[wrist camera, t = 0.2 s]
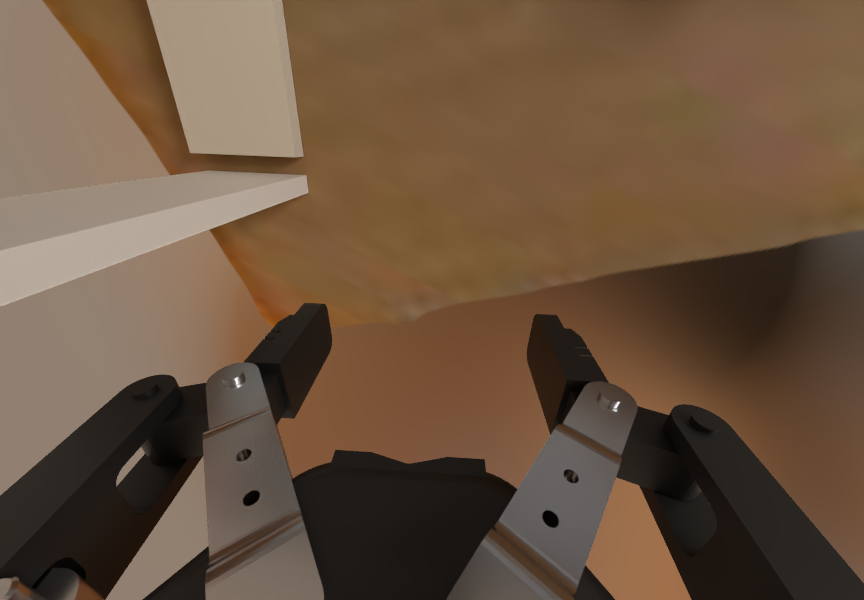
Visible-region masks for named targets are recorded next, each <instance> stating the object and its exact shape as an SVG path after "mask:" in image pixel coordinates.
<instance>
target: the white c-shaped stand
mask: <svg viewBox="0 0 864 600" xmlns="http://www.w3.org/2000/svg"><path fill="white" fill-rule="evenodd" d="M147 3H148V7H149V10H150V14H151V17H152V21H153V24H154V28H155V31H156V35H157V38H158V42H159V45H160V49H161V52H162V56H163V59H164V63H165V66H166V70H167V73H168V77H169V80H170V84H171V87H172V91H173V94H174V98H175V102H176V105H177V109H178V112H179V116H180V119H181V123H182V126H183V130H184V133H185V137H186V140H187V144H188V147H189V151H190V153H204V154H227V155H250V156H273V157H303V149H302V142H301V135H300V127H299V120H298V113H297V106H296V98H295V91H294V84H293V76H292V69H291V62H290V55H289V47H288V40H287V33H286V26H285V18H284V11H283V4H282V0H147ZM307 193H308V185H307V178H306V175H293V174H271V173H249V172H228V171H201V172H194V173H186V174H178V175H171V176H164V177H156V178H148V179H141V180H133V181H126V182H118V183H111V184H103V185H95V186H88V187H80V188H72V189H65V190H58V191H50V192H42V193H35V194H28V195H19V196H12V197H5V198H0V307H1V306H4V305H6V304H9V303H12V302H14V301H17V300H20V299H22V298H25V297H28V296H30V295H33V294H36V293H39V292H42V291H44V290H47V289H49V288H52V287H55V286H58V285H60V284H63V283H66V282H69V281H71V280H74V279H76V278H79V277H82V276H85V275H88V274H90V273H93V272H96V271H98V270H101V269H104V268H106V267H109V266H112V265H114V264H117V263H120V262H123V261H125V260H128V259H131V258H133V257H136V256H139V255H142V254H144V253H147V252H150V251H152V250H155V249H158V248H161V247H163V246H166V245H169V244H171V243H174V242H177V241H180V240H182V239H185V238H187V237H190V236H193V235H196V234H198V233H201V232H204V231H206V230H209V229H212V228H215V227H217V226H220V225H223V224H226V223H228V222H231V221H234V220H236V219H239V218H242V217H244V216H247V215H250V214H253V213H255V212H258V211H261V210H263V209H266V208H269V207H272V206H274V205H277V204H280V203H282V202H285V201H288V200H290V199H293V198H296V197H299V196H301V195H304V194H307Z"/></svg>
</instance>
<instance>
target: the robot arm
mask: <svg viewBox="0 0 864 600" xmlns="http://www.w3.org/2000/svg"><path fill="white" fill-rule="evenodd" d="M331 346H332V335H331V328H330V322H329V316H328V310H327V307H326V305H325V304H316V303H304V304H303V305H302V306H301V307H300V309H299V310H298V311H297V312H296V314H295V315H289V316H288V317H286V318H284V319H283V320H281V321H279V322H278V323H277V324H276V325H275V327H274V328H273V329H272V330H271V332H269V333H268V335H267V336H266V337H265V339H263V340H262V341H261V343H260V344H259V345H258V346H257V347H256V349H255V350H254V351H253V352H252V353H251V354H250V355H249V356H248V358H247V359H246V360H245V361H244V362H243V363H236V364H232V365H229V366H226V367H224V368H222V369H220V370H219V371H217V372H216V373H214V374H213V375H212V376H211V377H210V378H209V379H208V381H207V383H202V384H196V385H190V386H184V387H179V386H178V384H177V382H176V380H175V378H174V377H172V376H170V375H155V376H150V377H147V378H144V379H141V380H139V381H137V382H134V383H132V384H131V385H129V386H127V387H126V388H124V389H123V390H122V391H120V392H119V393H118V394H117V395H116V396H115V397H113V398H112V399H111V400H110V401H109V402H108V403H107V404H105V405H104V406H103V407H102V408H101V409H100V410H98V411H97V412H96V413H95V414H94V415H93V416H92V417H90V418H89V419H88V420H87V421H86V422H85V423H84V424H82V425H81V426H80V427H79V428H78V429H77V430H75V431H74V432H73V433H72V434H71V435H70V436H69V437H67V438H66V439H65V440H64V441H63V442H62V443H60V444H59V445H58V446H57V447H56V448H55V449H54V450H52V452H50V453H49V454H48V455H47V456H46V457H44V458H43V459H42V460H41V461H40V462H39V463H37V464H36V465H35V466H34V467H33V468H32V469H31V470H30V471H28V472H27V473H26V474H25V475H24V476H22V477H21V478H20V479H19V480H18V481H17V482H16V483H14V484H13V485H12V486H11V487H10V488H9V489H8V490H6V491H5V492H4V493H3V494H2V495H1V496H0V600H105V599H106V598H107V596H108V595H109V593H110V592H111V590H112V589H113V587H114V586H115V584H116V583H117V581H118V580H119V578H120V577H121V576H122V574H123V573H124V571H125V570H126V568H127V567H128V565H129V564H130V562H131V561H132V559H133V558H134V556H135V555H136V554H137V552H138V551H139V549H140V548H141V546H142V545H143V543H144V542H145V540H146V539H147V537H148V536H149V534H150V533H151V531H152V530H153V529H154V527H155V526H156V524H157V523H158V521H159V520H160V518H161V517H162V515H163V514H164V512H165V511H166V509H167V508H168V506H169V505H170V504H171V502H172V501H173V499H174V498H175V496H176V495H177V493H178V492H179V490H180V489H181V487H182V486H183V484H184V483H185V482H186V480H187V478H188V477H189V476H190V474H191V473H192V471H193V470H194V468H195V467H196V465H197V464H198V462H199V461H200V460H201V458H202V457H203V455H204V472H205V489H206V505H207V506H206V507H207V523H208V541H209V546H208V547H207V548H206V549H205V550H203V551H202V552H201V553H200V554H198V555H197V556H196V557H195V558H194V559H192V560H191V561H190V562H189V563H187V564H186V565H185V566H184V567H183V568H181V569H180V570H179V571H177V572H176V573H175V574H174V575H173V576H172V577H170V578H169V579H168V580H166V581H165V582H164V583H163V584H161V585H160V586H159V587H158V588H156V589H155V590H154V591H153V592H151V593H150V594H149V595H148V596H147V597H145V598H144V599H143V600H615V599H614V598H613V596H612V595H611V594H610V593H609V592H608V591H607V590H606V588H605V587H604V586H603V585H602V584H601V583H600V581H599V580H598V579H597V578H596V577H595V576H594V575H593V573H592V572H591V571H590V570H589V569H588V568H587V566H586V565H585V564H586V561H587V558H588V556H589V553H590V550H591V547H592V544H593V541H594V538H595V535H596V533H597V530H598V527H599V524H600V521H601V518H602V516H603V512H604V510H605V507H606V504H607V501H608V499H609V496H610V493H611V490H612V487H613V484H614V481H615V478H616V477H617V478H620V479H623V480H626V481H628V482H631V483H634V484H637V485H639V486H640V488H641V490H642V492H643V494H644V497H645V499H646V501H647V503H648V505H649V508H650V510H651V512H652V514H653V516H654V519H655V521H656V523H657V525H658V527H659V529H660V531H661V534H662V536H663V538H664V540H665V543H666V545H667V547H668V549H669V551H670V553H671V556H672V558H673V560H674V562H675V564H676V567H677V569H678V571H679V573H680V575H681V578H682V580H683V582H684V584H685V586H686V588H687V591H688V593H689V595H690V597H691V599H692V600H864V583H863V582H862V581H861V580H860V579H859V577H858V576H857V575H856V574H855V573H854V571H853V570H852V569H851V568H850V567H849V566H848V564H847V563H846V562H845V561H844V560H843V558H842V557H841V556H840V555H839V554H838V553H837V551H836V550H835V549H834V548H833V547H832V546H831V544H830V543H829V542H828V541H827V540H826V539H825V537H824V536H823V535H822V534H821V533H820V531H819V530H818V529H817V528H816V527H815V526H814V524H813V523H812V522H811V521H810V520H809V518H808V517H807V516H806V515H805V514H804V512H803V511H802V510H801V509H800V508H799V507H798V506H797V504H796V503H795V502H794V501H793V499H792V498H791V497H790V496H789V495H788V494H787V492H786V491H785V490H784V489H783V488H782V486H780V484H779V483H778V482H777V481H776V479H775V478H774V477H773V476H772V475H771V474H770V472H769V471H768V470H767V469H766V468H765V466H764V465H763V464H762V463H761V462H760V461H759V459H758V458H757V457H756V456H755V455H754V453H753V452H752V451H751V450H750V449H749V448H748V447H747V445H746V444H745V443H744V442H743V441H742V440H741V438H740V437H739V436H738V435H737V434H736V432H735V431H734V430H733V429H732V428H731V427H730V425H729V424H727V423H726V422H725V421H724V420H723V419H721V418H720V417H718V416H717V415H715V414H713V413H712V412H709V411H707V410H705V409H703V408H700V407H697V406H693V405H678V406H675V407H674V408H673V409H672V411H671V413H670V415H666V414H662V413H659V412H655V411H652V410H648V409H645V408H642V407H639V406H637V404H636V402H635V400H634V399H633V398H632V396H631V395H630V394H628V393H627V392H626V391H625V390H623V389H622V388H620V387H618V386H616V385H613V384H611V383H609V382H608V381H607V379H606V377H605V376H604V374H603V372H602V371H601V369H600V367H599V366H598V364H597V362H596V361H595V359H594V357H592V354H591V352H590V351H589V349H587V346H586V344H585V342H584V341H583V339H582V338H581V337H580V336H579V335H578V334H577V333H575V332H574V331H573V330H572V329H565V328H564V327H563V325H562V323H561V322H560V320H559V318H558V316H557V315H542V314H536V315H535V316H534V318H533V323H532V328H531V333H530V337H529V343H528V347H527V361H528V365H529V368H530V372H531V375H532V378H533V381H534V384H535V387H536V391H537V394H538V397H539V400H540V403H541V406H542V409H543V413H544V416H545V419H546V422H547V425H548V428H549V432H550V435H551V436H550V437H549V439H548V441H547V442H546V444H545V445H544V447H543V449H542V450H541V452H540V454H539V455H538V457H537V459H536V460H535V462H534V463H533V465H532V467H531V468H530V470H529V471H528V473H527V475H526V477H525V478H524V480H523V481H522V483H521V485H520V486H519V488H518V489H516V488H515V487H514V486H512V485H511V484H510V483H508V482H506V481H505V480H503V479H501V478H499V477H497V476H495V475H493V474H490V473H487V472H486V468H485V460H484V459H470V458H453V457H445V458H440V459H434V460H429V461H423V462H418V463H412V464H406V463H403V462H400V461H397V460H394V459H391V458H388V457H385V456H382V455H378V454H375V453H372V452H359V451H343V450H336V451H335V453H334V456H333V459H332V462H331V463H326V464H323V465H319V466H316V467H314V468H312V469H309V470H307V471H305V472H303V473H301V474H299V475H298V476H296V477H295V478H293V477H292V473H291V470H290V467H289V463H288V461H287V457H286V454H285V450H284V447H283V443H282V441H281V437H280V434H279V430H278V428H277V424H278V422H279V421H280V419H281V418H295V416H296V415H297V413H298V411H299V409H300V407H301V405H302V403H303V402H304V400H305V398H306V396H307V394H308V392H309V390H310V388H311V387H312V385H313V383H314V381H315V379H316V377H317V375H318V374H319V371H320V370H321V368H322V366H323V364H324V362H325V360H326V359H327V357H328V355H329V353H330V350H331ZM140 447H142V448H143V450H144V452H145V454H144V456H143V457H142V458H141V459H140V460H139V461H138V463H137V464H136V465H135V466H134V467H133V468H132V470H131V471H130V472H129V473H128V474H127V475H126V477H125V478H124V479H123V480H122V481H121V482H120V483H119V485H118V486H117V487H116V480H117V476H118V474H119V472H120V470H121V469H122V467H123V466H124V465H125V464H126V462H127V461H128V460H129V459H130V458H131V457H132V456H133V455H134V454H135V452H136V451H137V450H138V449H139V448H140ZM704 495H705V496H704ZM709 503H710V504H709Z"/></svg>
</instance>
